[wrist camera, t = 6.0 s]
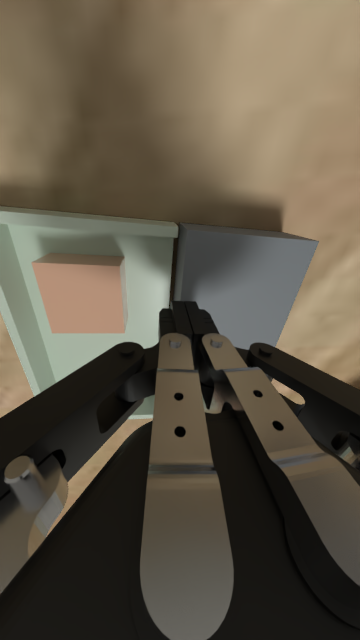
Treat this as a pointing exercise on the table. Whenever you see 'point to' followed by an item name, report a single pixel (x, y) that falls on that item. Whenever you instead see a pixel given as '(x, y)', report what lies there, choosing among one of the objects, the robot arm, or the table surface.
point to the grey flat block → (242, 278)
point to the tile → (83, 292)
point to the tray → (90, 239)
